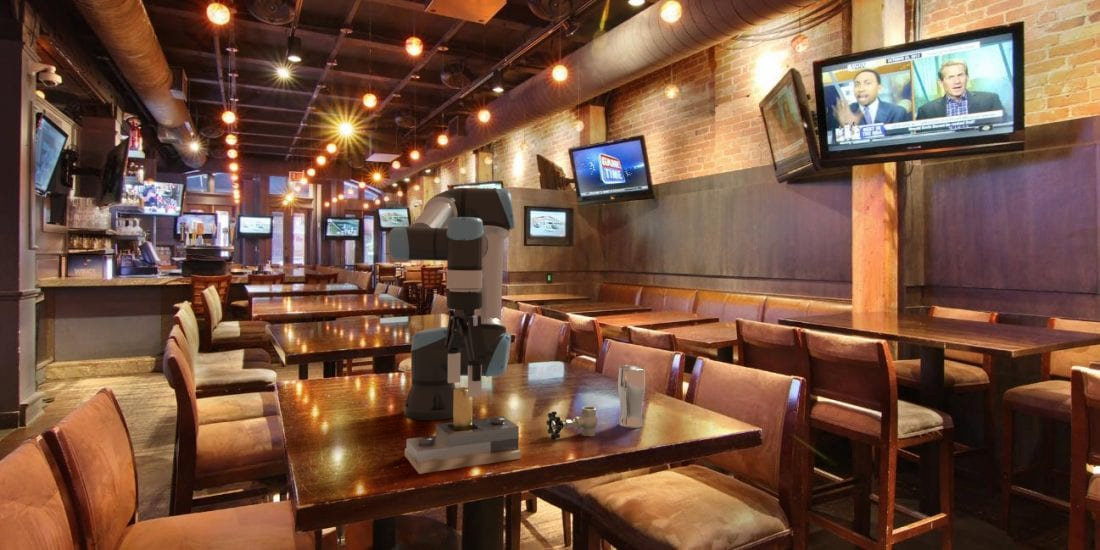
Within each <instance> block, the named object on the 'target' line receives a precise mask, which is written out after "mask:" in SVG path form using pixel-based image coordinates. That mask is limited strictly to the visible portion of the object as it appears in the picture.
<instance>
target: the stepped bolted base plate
mask: <svg viewBox="0 0 1100 550" xmlns="http://www.w3.org/2000/svg"><path fill="white" fill-rule="evenodd" d="M519 434H520V429H519V425H517V424H516V423H514V422H513V421H510V419H508V418H507V417H504V416H503V415H502V416H499V415H498V416H497V415H496V416H491V417H485V418H476V419H472V430H466V431H458V432H454V431H453V421H451V422H449V421H448V422H443V423H442V422H441V423H435V435H430V436H429V435H427V436H425V435H424V436H423V435H422V436H420V437H412V438H406V448H405V449H406V451H407V452H408V453H409V454H410V456H411V457H412V458H413V459H414V461H415V462H416V463H417V464H421V463H428V462H435V461H442V460H448V459H455V458H462V457H469V456H476V455H483V454H490V453H497V452H504V451H511V450H519V436H520V435H519Z"/></svg>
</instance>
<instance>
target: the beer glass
mask: <svg viewBox="0 0 1100 550" xmlns="http://www.w3.org/2000/svg"><path fill="white" fill-rule="evenodd" d="M645 369H646V368H645V367H644V366H640V365H630V364H627V365H626V364H625V365H620V366H619V367H618V377H617V378H618V379H617V389H618V390H617V391H618V398H619V399H618V400H619V403H620V404H619V405H620V407H619V408H620V414H619V421H618V425H619V426H620V427H622V428H625V429H640V428H641V427H643V419H642V408H643V401H644V397H645V392H646V391H645V390H646V373H645V372H646V370H645Z"/></svg>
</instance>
